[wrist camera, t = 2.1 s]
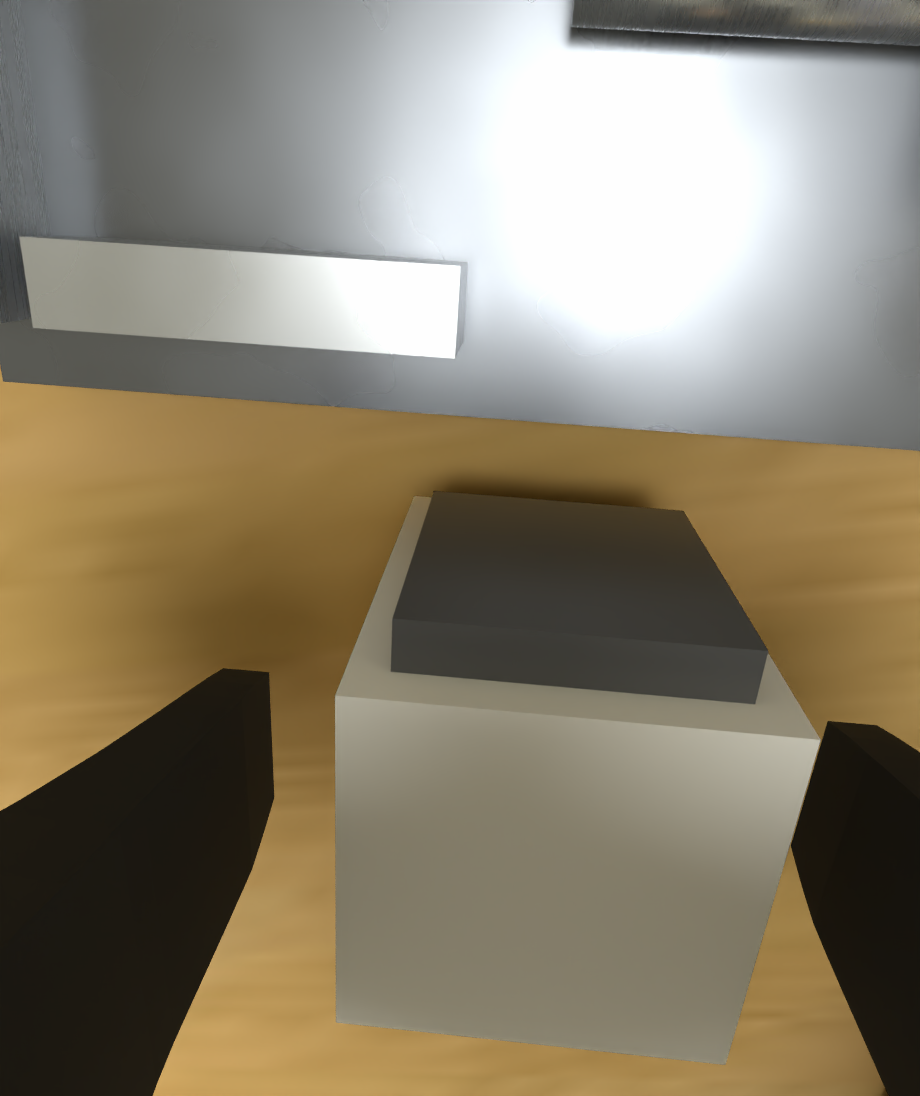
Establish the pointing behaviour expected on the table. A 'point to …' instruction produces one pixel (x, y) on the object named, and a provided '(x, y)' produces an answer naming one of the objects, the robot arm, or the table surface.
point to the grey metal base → (472, 208)
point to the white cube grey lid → (559, 783)
